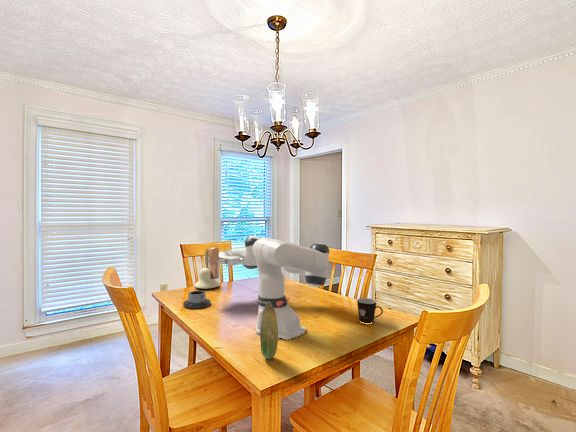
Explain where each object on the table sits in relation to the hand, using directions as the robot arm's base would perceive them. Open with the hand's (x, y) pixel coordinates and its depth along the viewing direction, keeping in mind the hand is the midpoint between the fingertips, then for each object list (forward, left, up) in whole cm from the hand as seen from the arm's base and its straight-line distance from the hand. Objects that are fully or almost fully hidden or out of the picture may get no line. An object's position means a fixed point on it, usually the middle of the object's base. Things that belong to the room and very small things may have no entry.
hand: (212, 261), depth 166 cm
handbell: (+31, -21, -24) cm, 45 cm away
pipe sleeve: (+7, +5, -24) cm, 25 cm away
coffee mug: (-76, -27, -24) cm, 84 cm away
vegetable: (-62, +27, -24) cm, 71 cm away
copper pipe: (0, -1, -9) cm, 9 cm away
